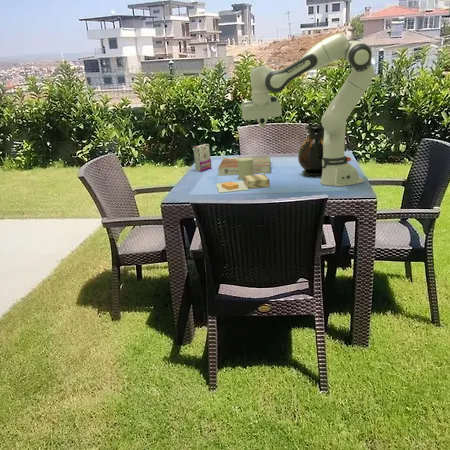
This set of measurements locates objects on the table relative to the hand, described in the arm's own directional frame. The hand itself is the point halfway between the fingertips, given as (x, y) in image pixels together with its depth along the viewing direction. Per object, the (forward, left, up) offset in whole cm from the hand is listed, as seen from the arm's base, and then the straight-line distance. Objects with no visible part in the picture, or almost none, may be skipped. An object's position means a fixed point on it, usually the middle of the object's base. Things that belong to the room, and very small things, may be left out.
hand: (262, 127), depth 228 cm
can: (+6, -27, -33) cm, 43 cm away
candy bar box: (+30, -62, -33) cm, 76 cm away
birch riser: (+3, -9, -32) cm, 34 cm away
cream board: (+17, -9, -32) cm, 38 cm away
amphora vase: (-35, -20, -33) cm, 52 cm away
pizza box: (+3, -53, -33) cm, 63 cm away
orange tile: (+18, -7, -32) cm, 37 cm away
